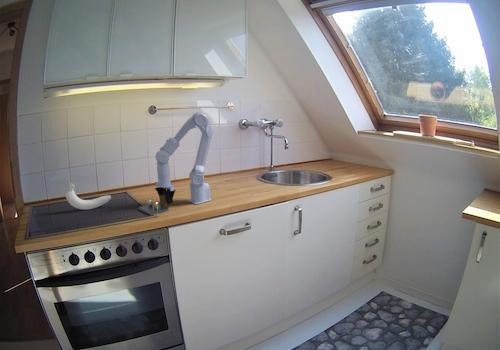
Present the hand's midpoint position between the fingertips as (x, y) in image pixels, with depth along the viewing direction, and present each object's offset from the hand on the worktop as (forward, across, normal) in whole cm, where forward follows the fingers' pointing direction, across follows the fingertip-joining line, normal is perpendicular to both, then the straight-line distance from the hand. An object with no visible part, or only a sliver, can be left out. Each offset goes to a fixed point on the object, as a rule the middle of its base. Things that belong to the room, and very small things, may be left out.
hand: (166, 202), depth 159 cm
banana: (+2, -23, -28) cm, 36 cm away
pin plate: (+1, +2, -8) cm, 8 cm away
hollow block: (+1, 0, 0) cm, 1 cm away
